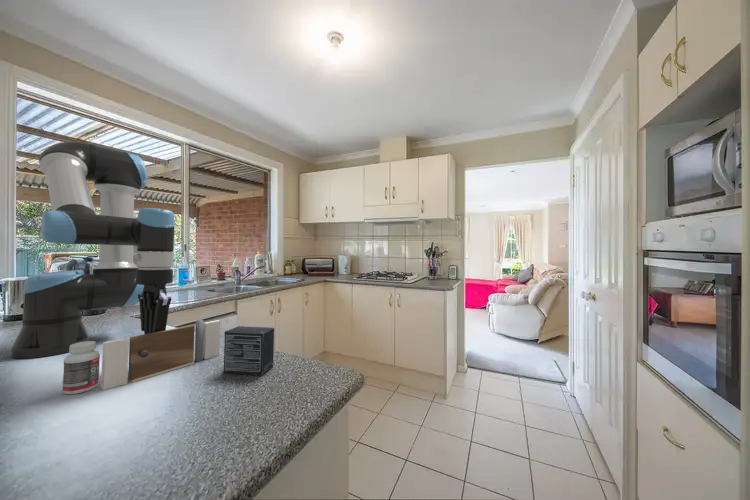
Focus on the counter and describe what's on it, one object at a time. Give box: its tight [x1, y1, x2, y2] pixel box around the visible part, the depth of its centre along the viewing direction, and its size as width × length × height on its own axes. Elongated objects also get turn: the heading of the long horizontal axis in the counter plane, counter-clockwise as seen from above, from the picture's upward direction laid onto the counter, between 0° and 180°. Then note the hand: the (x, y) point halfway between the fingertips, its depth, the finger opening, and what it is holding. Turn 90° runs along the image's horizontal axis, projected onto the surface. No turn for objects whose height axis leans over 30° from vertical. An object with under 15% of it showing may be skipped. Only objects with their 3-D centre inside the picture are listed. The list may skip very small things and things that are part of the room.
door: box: [127, 324, 196, 380], centre depth 70 cm, size 2×14×10 cm, turn 149°
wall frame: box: [100, 319, 221, 391], centre depth 71 cm, size 3×25×11 cm, turn 149°
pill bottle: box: [62, 340, 101, 395], centre depth 60 cm, size 5×5×10 cm
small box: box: [223, 325, 275, 376], centre depth 72 cm, size 11×6×10 cm, turn 84°
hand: (152, 360), depth 72 cm, fingers closed
